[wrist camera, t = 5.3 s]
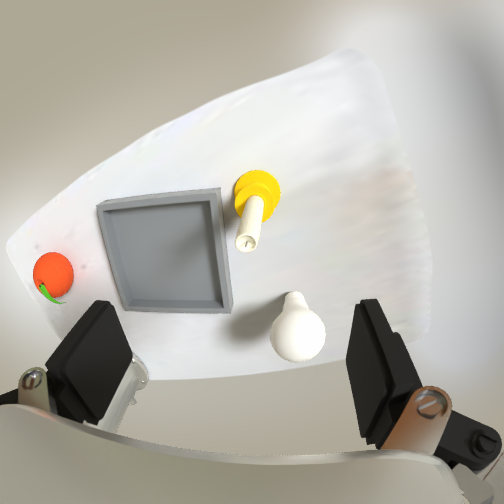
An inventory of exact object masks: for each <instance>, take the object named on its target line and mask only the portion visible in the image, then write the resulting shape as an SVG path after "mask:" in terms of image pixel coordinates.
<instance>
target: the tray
mask: <svg viewBox="0 0 504 504" xmlns="http://www.w3.org/2000/svg"><path fill="white" fill-rule="evenodd" d="M96 207H97V212H98V217H99V221H100V225H101V230H102V234H103V238H104V242H105V246H106V250H107V253H108V257H109V261H110V264H111V268H112V271H113V275H114V278H115V281H116V285H117V288H118V291H119V294H120V297H121V300H122V303H123V306H124V309H125V311H142V312H167V313H231V310H232V306H233V297H232V289H231V280H230V272H229V263H228V255H227V246H226V237H225V228H224V218H223V209H222V199H221V189H220V188H212V189H200V190H188V191H178V192H168V193H158V194H150V195H141V196H133V197H125V198H118V199H111V200H105V201H104V202H102V203H100V204H98V205H96Z"/></svg>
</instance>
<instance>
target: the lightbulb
mask: <svg viewBox="0 0 504 504" xmlns="http://www.w3.org/2000/svg"><path fill="white" fill-rule="evenodd" d="M270 340H271V344H272V347H273V348H274V350H275V352H276V353H277V354H278V355H279V356H280V357H282V358H283V359H285V360H288V361H291V362H304V361H307V360H309V359H311V358H313V357H314V356H315V355H317V354H318V352H319V351H320V350H321V348H322V347H323V344H324V341H325V327H324V325H323V322H322V321H321V319H320V318H319V316H317V315H316V314H315V313H314V312H312V311H311V310H309V309H308V306H307V304H306V302H305V300H304V297H303V295H302V294H301V293H300V292H296V291H293V292H290V293H288V294H287V295H286V297H285V303H284V306H283V312H282V313H281V314H280V315H279V316H278V317H277V318H276V319H275V321H274V323H273V324H272V327H271V331H270Z"/></svg>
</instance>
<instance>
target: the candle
mask: <svg viewBox="0 0 504 504" xmlns="http://www.w3.org/2000/svg"><path fill="white" fill-rule="evenodd" d="M280 193H281V192H280V186H279V184H278V182H277V180H276V179H275V178H274V177H273V176H272V175H271V174H269V173H268V172H265V171H261V170H254V171H249V172H247V173H245V174H244V175H243V176H241V177H240V178H239V180H238V181H237V183H236V186H235V189H234V196H235V209H236V212H237V214H238V215H239V216H240V218H241V221H240V224H239V228H238V231H237V235H236V240H235V246H236V248H237V249H238V250H239V251H241V252H246V253H247V252H251V251H253V250H254V249H255V248H256V247H257V244H258V240H259V236H260V229H261V223H262V222H264V221H266V220H267V219H269V218H270V216H271V215H272V214H273V211H274V208H275V207H276V206H277V204H278V202H279V200H280Z"/></svg>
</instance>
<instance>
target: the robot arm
mask: <svg viewBox="0 0 504 504" xmlns="http://www.w3.org/2000/svg"><path fill="white" fill-rule="evenodd" d="M45 366H46V367H47V369H48V371H47V372H45V370H44V369H42V368H40V367H34V368H31V369H29V370H27V371H26V372H25V373H23V375H22V376H21V378H20V379H19V383H18V389H15V390H12V391H10V392H7V393H5V394H2V395H0V504H464V500H463V497H462V494H461V490H462V491H463V492H464V494H463V496H464V497H465V498H466V499H467V500H468V501H469V503H470V504H504V450H503V449H502V442H501V438H500V435H499V434H498V433H497V431H496V430H494V429H493V428H491V427H489V426H486V425H484V424H481V423H480V422H477V421H475V420H473V419H470V418H468V417H466V416H464V415H462V414H460V413H457V412H455V411H453V410H452V402H451V399H450V397H449V395H448V394H447V393H446V392H445V391H444V390H442V389H440V388H438V387H434V386H425V387H423V386H422V383H421V381H420V378H419V376H418V374H417V371H416V369H415V367H414V365H413V362H412V360H411V358H410V355H409V353H408V351H407V349H406V346H405V344H404V342H403V340H402V338H401V336H400V334H399V333H397V332H394V333H393V332H392V330H391V327H390V325H389V323H388V321H387V319H386V317H385V315H384V313H383V310H382V308H381V306H380V304H379V302H378V300H377V299H365V300H361V301H360V304H356V305H355V310H354V317H353V323H352V328H351V334H350V340H349V345H348V350H347V355H346V366H347V371H348V375H349V380H350V384H351V389H352V394H353V398H354V404H355V409H356V414H357V419H358V425H359V430H360V435H361V437H362V438H365V437H366V442H367V445H369V444H375V446H376V449H378V450H367V451H356V452H344V453H343V452H342V453H332V454H317V455H291V456H290V455H287V456H264V455H263V456H262V455H238V454H225V453H214V452H206V451H197V450H190V449H183V448H177V447H171V446H165V445H159V444H155V443H150V442H145V441H141V440H137V439H132V438H128V437H124V436H121V435H117V434H116V433H117V430H118V428H119V425H120V423H121V421H122V418H123V416H124V414H125V411H126V409H127V407H128V405H129V402H130V404H131V405H135V404H136V400H135V398H134V395H135V392H136V390H141V389H143V388H144V387H145V386H146V385H147V382H148V380H149V375H148V371H147V369H146V367H145V366H144V364H143V363H142V362H141V361H140V360H139V358H137V357H136V356H135V355H134V354H133V353H132V351H131V348H130V346H129V344H128V341H127V339H126V336H125V334H124V331H123V329H122V326H121V324H120V321H119V319H118V316H117V313H116V311H115V308H114V306H113V305H111V303H110V302H109V301H101V300H97V301H95V302H94V303H93V304H92V305H91V306H90V307H89V309H88V310H87V311H86V312H85V313H84V315H83V316H82V317H81V318H80V320H79V321H78V322H77V323H76V324H75V326H74V327H73V328H72V329H71V331H70V332H69V333H68V334H67V336H66V337H65V338H64V340H63V341H62V342H61V344H60V345H59V346H58V347H57V349H56V350H55V351H54V353H53V354H52V355H51V357H50V358H49V359H48V361H47V362H46V364H45ZM460 489H461V490H460Z"/></svg>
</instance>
